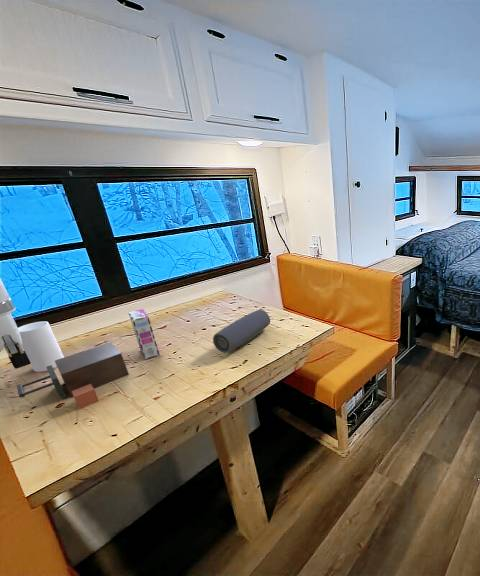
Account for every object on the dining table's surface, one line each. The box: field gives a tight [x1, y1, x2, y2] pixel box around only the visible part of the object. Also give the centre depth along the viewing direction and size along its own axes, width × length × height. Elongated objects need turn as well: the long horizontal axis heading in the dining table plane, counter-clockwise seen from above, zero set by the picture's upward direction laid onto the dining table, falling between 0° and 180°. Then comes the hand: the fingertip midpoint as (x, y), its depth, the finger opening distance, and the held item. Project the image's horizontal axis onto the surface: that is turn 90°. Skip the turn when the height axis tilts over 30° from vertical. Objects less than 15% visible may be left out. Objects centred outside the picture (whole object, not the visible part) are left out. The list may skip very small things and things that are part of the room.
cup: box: [18, 320, 65, 373], centre depth 110 cm, size 8×8×16 cm
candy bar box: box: [128, 308, 161, 360], centre depth 116 cm, size 11×5×16 cm, turn 45°
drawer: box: [16, 365, 66, 399], centre depth 98 cm, size 21×11×7 cm, turn 142°
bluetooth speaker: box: [212, 309, 271, 354], centre depth 124 cm, size 23×9×10 cm, turn 161°
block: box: [71, 384, 100, 410], centre depth 92 cm, size 4×4×4 cm
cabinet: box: [55, 341, 130, 398], centre depth 103 cm, size 15×13×9 cm
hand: (22, 365), depth 90 cm, fingers closed
